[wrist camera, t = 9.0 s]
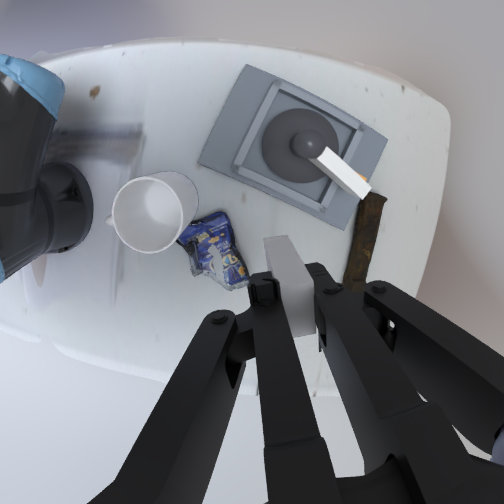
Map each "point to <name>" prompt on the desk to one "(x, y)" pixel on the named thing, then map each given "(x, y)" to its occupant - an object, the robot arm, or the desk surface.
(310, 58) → the desk surface
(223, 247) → the snack package
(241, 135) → the panel
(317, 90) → the desk surface
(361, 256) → the dark brown lumpy bar
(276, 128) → the dial
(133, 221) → the mug
